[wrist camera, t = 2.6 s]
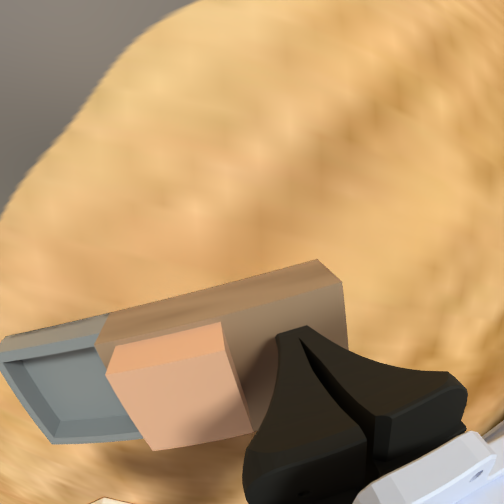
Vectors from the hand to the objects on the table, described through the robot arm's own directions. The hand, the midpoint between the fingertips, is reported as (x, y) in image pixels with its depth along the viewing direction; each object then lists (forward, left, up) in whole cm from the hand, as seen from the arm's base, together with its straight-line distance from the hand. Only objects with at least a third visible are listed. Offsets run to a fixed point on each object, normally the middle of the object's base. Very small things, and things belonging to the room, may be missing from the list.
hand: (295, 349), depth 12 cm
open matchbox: (-2, +3, -4) cm, 5 cm away
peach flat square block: (-1, +5, -1) cm, 5 cm away
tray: (-2, +12, -4) cm, 12 cm away
